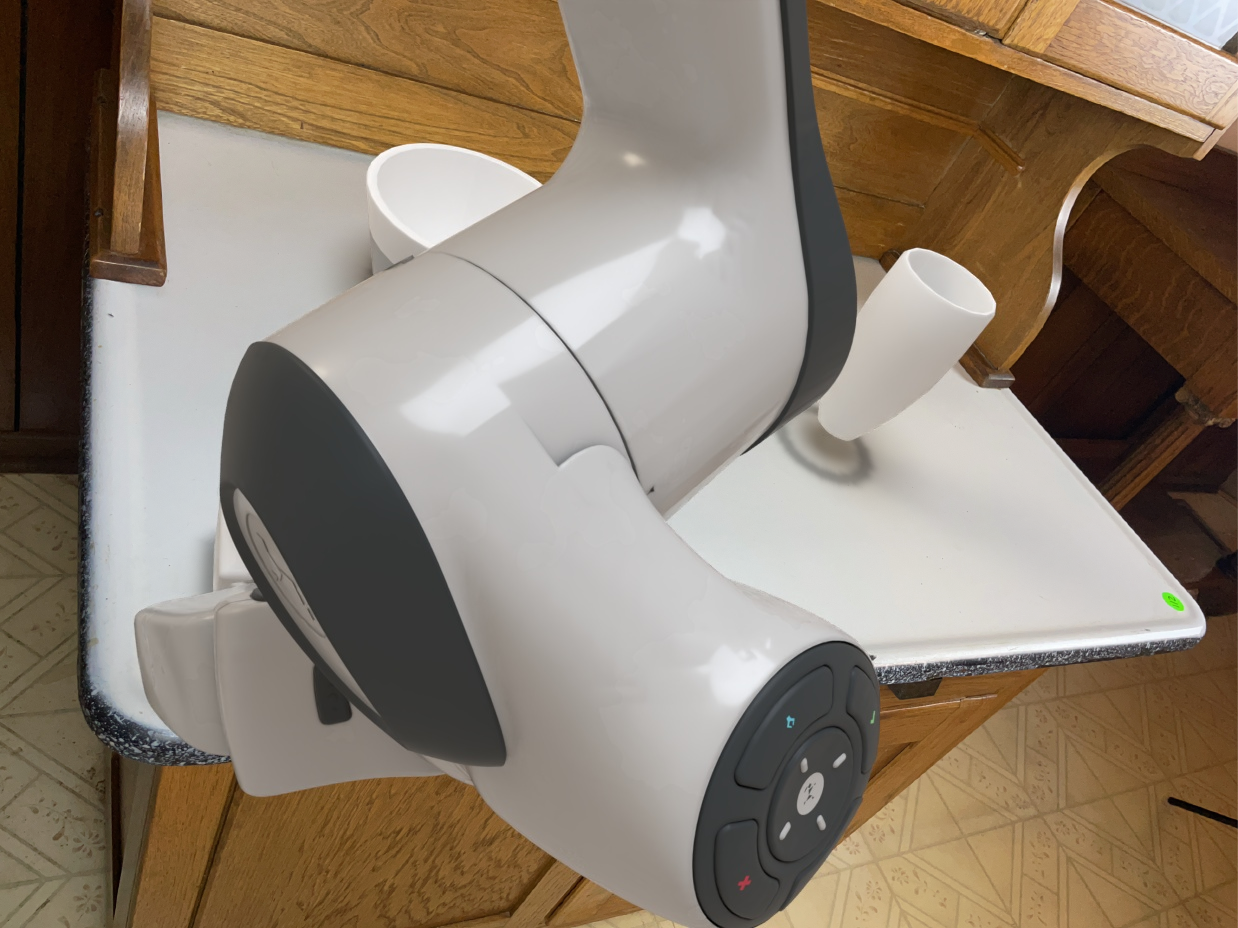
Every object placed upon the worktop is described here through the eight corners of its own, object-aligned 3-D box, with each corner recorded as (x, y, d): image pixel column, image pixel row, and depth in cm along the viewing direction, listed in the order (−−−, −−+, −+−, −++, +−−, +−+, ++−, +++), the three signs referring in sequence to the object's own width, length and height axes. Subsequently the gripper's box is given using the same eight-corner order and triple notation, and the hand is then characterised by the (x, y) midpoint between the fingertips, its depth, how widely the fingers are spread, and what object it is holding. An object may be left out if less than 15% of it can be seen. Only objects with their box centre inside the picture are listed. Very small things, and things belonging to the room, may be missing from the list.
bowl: (330, 338, 72) (352, 232, 65) (357, 217, 85) (378, 118, 78) (547, 390, 79) (588, 298, 72) (541, 270, 92) (575, 182, 85)
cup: (794, 473, 85) (927, 304, 70) (767, 400, 91) (883, 232, 77) (878, 487, 88) (1021, 330, 74) (846, 417, 95) (971, 260, 81)
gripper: (682, 506, 37) (520, 482, 48) (165, 621, 25) (106, 554, 36) (691, 645, 38) (530, 590, 49) (194, 820, 26) (128, 695, 37)
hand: (347, 575), depth 43 cm, fingers open, 8 cm apart
